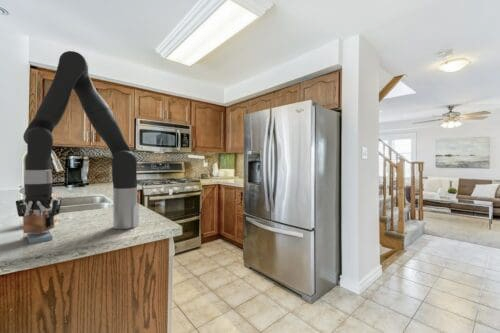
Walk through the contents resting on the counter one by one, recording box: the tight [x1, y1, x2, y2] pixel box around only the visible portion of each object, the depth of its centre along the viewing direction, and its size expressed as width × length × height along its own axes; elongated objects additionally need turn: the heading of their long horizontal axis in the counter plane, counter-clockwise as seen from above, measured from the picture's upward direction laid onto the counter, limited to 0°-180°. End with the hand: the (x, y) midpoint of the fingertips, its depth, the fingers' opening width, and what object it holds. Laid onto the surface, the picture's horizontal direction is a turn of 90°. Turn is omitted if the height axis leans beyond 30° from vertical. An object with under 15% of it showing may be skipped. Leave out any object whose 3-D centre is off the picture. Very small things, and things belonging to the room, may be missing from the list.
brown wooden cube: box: [22, 213, 55, 234], centre depth 84 cm, size 6×6×6 cm
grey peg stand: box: [26, 209, 53, 245], centre depth 84 cm, size 12×6×12 cm, turn 47°
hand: (39, 227), depth 84 cm, fingers closed on brown wooden cube, 5 cm apart
